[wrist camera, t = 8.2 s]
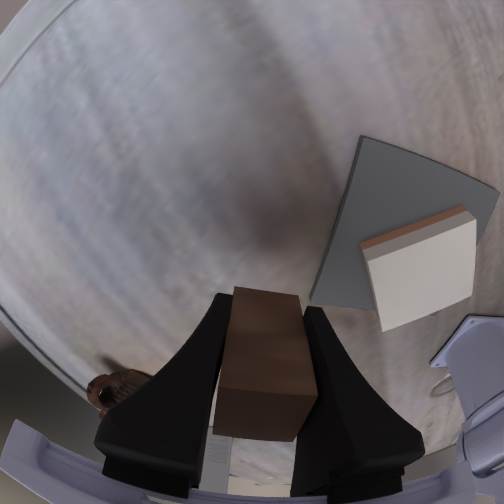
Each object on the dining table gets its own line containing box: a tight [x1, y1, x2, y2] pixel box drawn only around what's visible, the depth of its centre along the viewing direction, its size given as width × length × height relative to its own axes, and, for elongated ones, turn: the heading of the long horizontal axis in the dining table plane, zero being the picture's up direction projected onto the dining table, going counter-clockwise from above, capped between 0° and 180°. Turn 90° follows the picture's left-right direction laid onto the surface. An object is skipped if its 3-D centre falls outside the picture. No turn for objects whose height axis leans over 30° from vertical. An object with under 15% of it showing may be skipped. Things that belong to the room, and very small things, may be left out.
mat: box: [309, 136, 500, 316], centre depth 18 cm, size 12×12×1 cm
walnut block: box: [212, 286, 318, 442], centre depth 11 cm, size 3×3×6 cm
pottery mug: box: [87, 369, 151, 420], centre depth 29 cm, size 12×10×8 cm
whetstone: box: [359, 205, 476, 332], centre depth 17 cm, size 8×2×7 cm
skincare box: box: [193, 427, 232, 494], centre depth 33 cm, size 6×4×12 cm
